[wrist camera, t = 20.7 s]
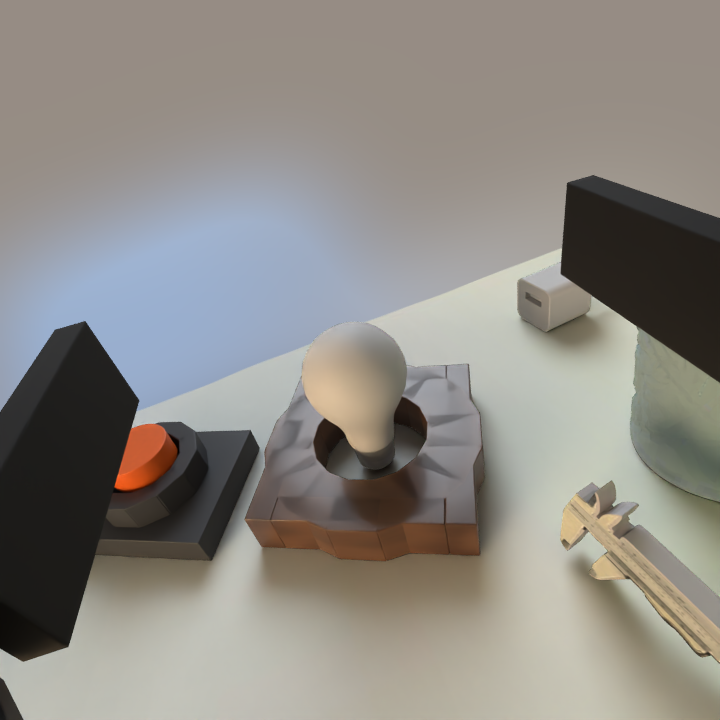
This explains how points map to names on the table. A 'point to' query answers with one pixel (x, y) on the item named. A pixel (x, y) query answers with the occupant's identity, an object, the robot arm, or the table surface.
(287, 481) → the bulb stand
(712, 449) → the grey embossed cup
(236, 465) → the black button base
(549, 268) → the usb wall charger
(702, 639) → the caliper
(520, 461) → the table surface
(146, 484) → the test button
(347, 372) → the lightbulb
